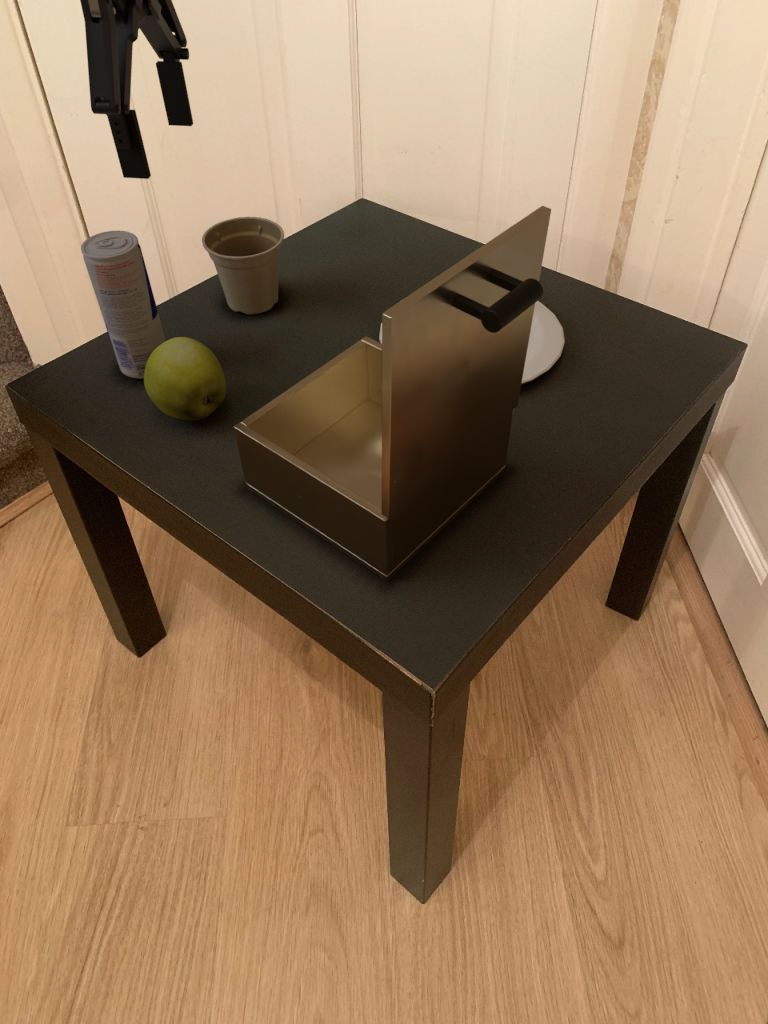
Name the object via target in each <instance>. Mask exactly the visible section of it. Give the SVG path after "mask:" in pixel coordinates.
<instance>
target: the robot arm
mask: <svg viewBox="0 0 768 1024" xmlns="http://www.w3.org/2000/svg"><path fill="white" fill-rule="evenodd" d="M79 1H80V5H81V10H82V15H83V20H84V31H85V42H86V43H85V44H86V45H85V46H86V57H87V69H88V85H89V86H88V87H89V101H90V109H91V112H92V113H93V114H94V115H105V116H107V120H108V124H109V128H110V132H111V134H112V140H113V143H114V147H115V151H116V154H117V158H118V162H119V165H120V170H121V172H122V177H123V178H126V179H142V180H144V179H145V180H149V179H150V178H151V176H152V174H151V171H150V165H149V162H148V157H147V153H146V149H145V146H144V145H145V144H144V141H143V137H142V132H141V129H140V125H139V121H138V120H139V119H138V115H137V112H136V109H131V91H132V69H133V68H132V67H133V44H134V42H136V41H137V40H138V38H139V30H140V31H141V33H142V34H143V35H144V38H145V39H146V41H147V42H148V43H149V45H150V46H151V48H152V49H153V51H154V52H155V55H156V56H157V58H158V59H160V60H158V61H156V63H155V67H156V72H157V76H158V81H159V85H160V91H161V96H162V99H163V104H164V109H165V115H166V118H167V119H166V120H167V123H168V126H176V127H178V126H179V127H192V126H193V125H194V120H193V114H192V109H191V104H190V99H189V93H188V88H187V84H186V77H185V73H184V68H183V63H182V60H183V61H187V60H189V59H190V49H189V48H188V47H187V45H188V40H187V36H186V34H185V32H184V29H183V26H182V24H181V21H180V19H179V16H178V14H177V11H176V8H175V5H174V3H173V0H79Z"/></svg>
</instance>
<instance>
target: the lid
mask: <svg viewBox="0 0 768 1024" xmlns="http://www.w3.org/2000/svg"><path fill="white" fill-rule="evenodd" d="M551 214H552V209H551V208H550V207H548V206H545V205H541V206H540V207H538V208H536V209H535V210H533V211H532V212H531V213H529V214H528V215H526V216H524V217H523V218H522V219H520V220H519V221H517V222H516V223H514V224H513V225H511V226H510V227H508V228H507V229H505V230H504V231H502V232H501V233H499V234H498V235H497V236H495V237H493V238H492V239H490V240H489V241H488V242H486V243H485V244H483V245H481V246H480V247H478V248H477V249H475V250H474V251H473V252H472V253H470V254H468V255H467V256H465V257H463V259H461V260H460V261H458V262H456V263H455V264H454V265H451V267H449V268H448V269H446V270H444V271H443V272H442V273H440V274H439V275H437V276H436V277H434V278H432V280H429V281H428V282H427V283H425V284H423V285H422V286H420V287H419V288H418V289H416V290H415V291H413V292H412V293H411V294H409V295H407V296H406V297H404V298H403V299H401V300H402V301H401V300H400V301H399V302H397V303H395V304H394V305H393V306H391V307H389V308H388V309H387V310H385V311H384V312H382V314H381V323H382V509H381V514H382V515H383V516H385V517H386V518H388V519H390V518H391V517H392V516H393V515H394V514H395V513H397V512H398V511H399V510H400V509H401V508H402V507H403V506H404V505H406V504H407V503H408V502H409V501H410V500H411V499H412V498H414V497H415V496H416V495H417V494H418V493H419V492H420V491H421V490H423V489H424V488H425V487H426V486H427V485H428V484H429V483H431V482H432V481H433V480H434V479H435V478H436V477H437V476H439V475H440V474H441V473H442V472H443V471H444V470H445V469H446V468H448V467H449V466H450V465H451V464H452V463H453V462H454V461H456V460H457V459H458V458H459V457H460V456H461V455H462V454H464V453H465V452H466V451H467V450H468V449H469V448H470V447H471V446H473V445H474V444H475V443H476V442H477V441H478V440H479V439H481V438H482V437H483V436H484V435H485V434H486V433H487V432H488V431H490V430H491V429H492V428H493V427H494V426H495V425H496V424H498V423H499V422H500V421H501V420H502V419H503V418H504V417H506V416H507V415H508V414H509V413H510V412H511V411H512V410H513V411H514V410H515V409H516V408H517V407H518V405H519V401H520V400H519V399H520V394H521V388H522V385H521V383H522V377H523V371H524V366H525V360H526V354H527V348H528V342H529V336H530V331H531V325H532V319H533V313H534V307H535V303H536V302H537V301H539V300H541V299H542V298H543V295H544V289H543V286H542V284H541V282H540V277H541V273H542V267H543V260H544V255H545V248H546V243H547V236H548V231H549V225H550V219H551Z"/></svg>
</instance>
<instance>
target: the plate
mask: <svg viewBox="0 0 768 1024" xmlns="http://www.w3.org/2000/svg"><path fill="white" fill-rule="evenodd" d="M402 300H403V299H401V300H400V301H402ZM378 339H379V343H381V344H382V322H381V323H380V328H379V336H378ZM565 339H566V338H565V333H564V328H563V326H562V324H561V323H560V321H559V319H558V317H557V316H556V315H555V313H554V312H552V311H551V309H549V308H548V307H547V306H545V305H544V304H543V303H542V302H541V301H539V300H538V301H537V302H536V303H535V307H534V313H533V319H532V325H531V331H530V336H529V342H528V348H527V354H526V360H525V366H524V371H523V377H522V383H521V386H522V385H525V384H528V383H530V382H533V381H535V380H537V379H538V378H539V377H541V376H542V375H544V374H545V373H547V372H549V371H550V370H551V369H552V368H553V366H554V365H555V364H556V363H558V361H559V359H560V358H561V356H562V353H563V350H564V346H565V343H566V340H565Z"/></svg>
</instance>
